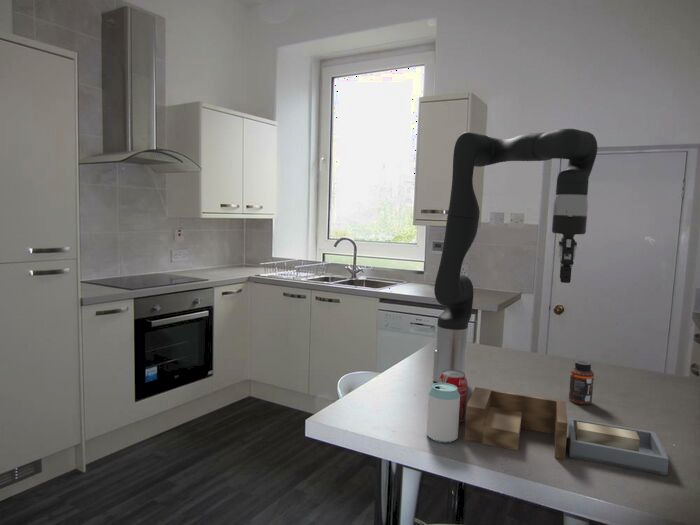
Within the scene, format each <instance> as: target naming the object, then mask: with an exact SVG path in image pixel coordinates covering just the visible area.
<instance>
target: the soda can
mask: <svg viewBox="0 0 700 525" xmlns="http://www.w3.org/2000/svg"><path fill="white" fill-rule="evenodd" d="M439 383H449V384H452V385H455V386H456V387H457V388H458V389H457V391H458V392H459V394H460V406H459V423H458V424H460V423H461V422H463V421H465V420H466V408H467V398H468V380H467V378H466V372H465V373H463V372H461V371H458V370H444V371H442V375H441V376H440V378H439Z"/></svg>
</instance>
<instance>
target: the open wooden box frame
mask: <svg viewBox="0 0 700 525" xmlns="http://www.w3.org/2000/svg"><path fill="white" fill-rule="evenodd" d="M521 429H524V430H525V429H526V430H530V431H531V430H532V431H536V432H543V433H547V434H553V436H554V438H553V441H554V442H553V444H554V450H553V451H554V459H559V460H566V448H567V439H568V432H567V431H568V411H567V402H566V401H565V400H559V399H552V398H548V397H547V398H546V397H539V396H533V395H528V394H519V393H517V392H516V393H515V392H508V391H502V390H497V389H496V390H495V389H489V388H483V387H477V386H476V387H474V389H473V391H472V393H471V395H470V398H469V400H468V402H467V403H466V414H465V428H464V441H468V442H473V443H479V444H483V445H489V446H494V447H499V448H504V449H508V450H514V451H518V450H519V443H520V436H521Z"/></svg>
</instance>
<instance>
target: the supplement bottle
mask: <svg viewBox="0 0 700 525" xmlns="http://www.w3.org/2000/svg"><path fill="white" fill-rule="evenodd" d="M574 363H575V365H574V366H575V367H573V368H572V369H571V370H570V376H569V378H570V379H569V393H568V399H569V401H570V402H572V403H574V404H577V405H584V406H586V405H587V406H588V405H590V404H592V400H593V390H594V380H595V376H594V375H595V373H594V372H593V370H592V363H591V362H588V361H584V360H575V362H574Z"/></svg>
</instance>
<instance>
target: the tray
mask: <svg viewBox="0 0 700 525" xmlns="http://www.w3.org/2000/svg"><path fill="white" fill-rule="evenodd" d="M567 421H568V426H567V442H568V444H567V445H568V452H569V457H570V458H575V459H578V460H579V459H580V460H584V461H585V460H586V461H588V462H589V461H590V462H595V463H600V464H606V465H610V466H615V467H621V468H625V469H631V470H636V471H641V472H646V473H651V474H656V475H661V476H666V477H667V476H668V471H669V469H668V468H669V460H670V459H669V456H668V455H667V453H666V451H665V449H664V447H663V444H662V443H661V442H660V440H659V438H658V437H659V436H658V435H657V433H656V432H655V431H652V430H644V429H639V428H634V427H627V426H621V425H615V424H610V423H604V422H596V421H591V420H586V419H579V418H574V417H567ZM577 422H583V423H589V424H595V425H601V426H607V427H613V428H618V429H624V430H630V431H636V432H637V434H638V437H639V439H640V443H639V452H638V451H632V450H627V449H621V448H616V447H611V446H605V445H600V444H594V443H589V442H583V441H578V440H576V426H577Z"/></svg>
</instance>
